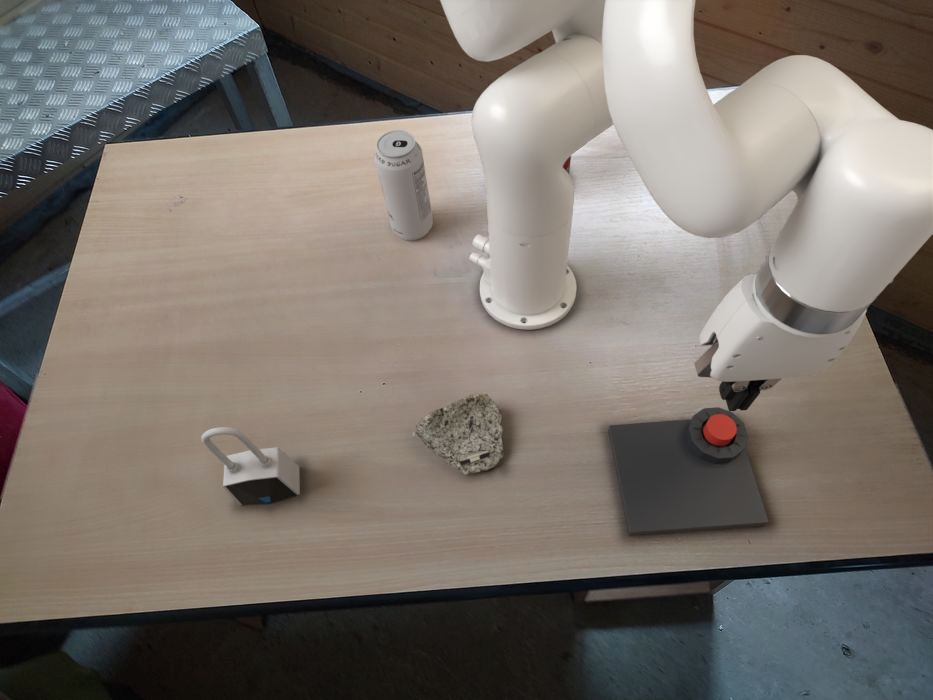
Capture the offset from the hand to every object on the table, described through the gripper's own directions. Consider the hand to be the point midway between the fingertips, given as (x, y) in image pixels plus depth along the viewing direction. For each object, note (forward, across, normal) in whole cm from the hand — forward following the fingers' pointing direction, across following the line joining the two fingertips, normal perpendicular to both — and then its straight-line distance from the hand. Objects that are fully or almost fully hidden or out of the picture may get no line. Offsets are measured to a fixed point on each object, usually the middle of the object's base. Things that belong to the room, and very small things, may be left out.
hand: (733, 397), depth 61 cm
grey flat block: (+10, +4, +4) cm, 11 cm away
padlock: (+11, +49, +2) cm, 50 cm away
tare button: (+7, 0, +1) cm, 7 cm away
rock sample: (+11, +26, -2) cm, 28 cm away
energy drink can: (+11, +33, -35) cm, 49 cm away
